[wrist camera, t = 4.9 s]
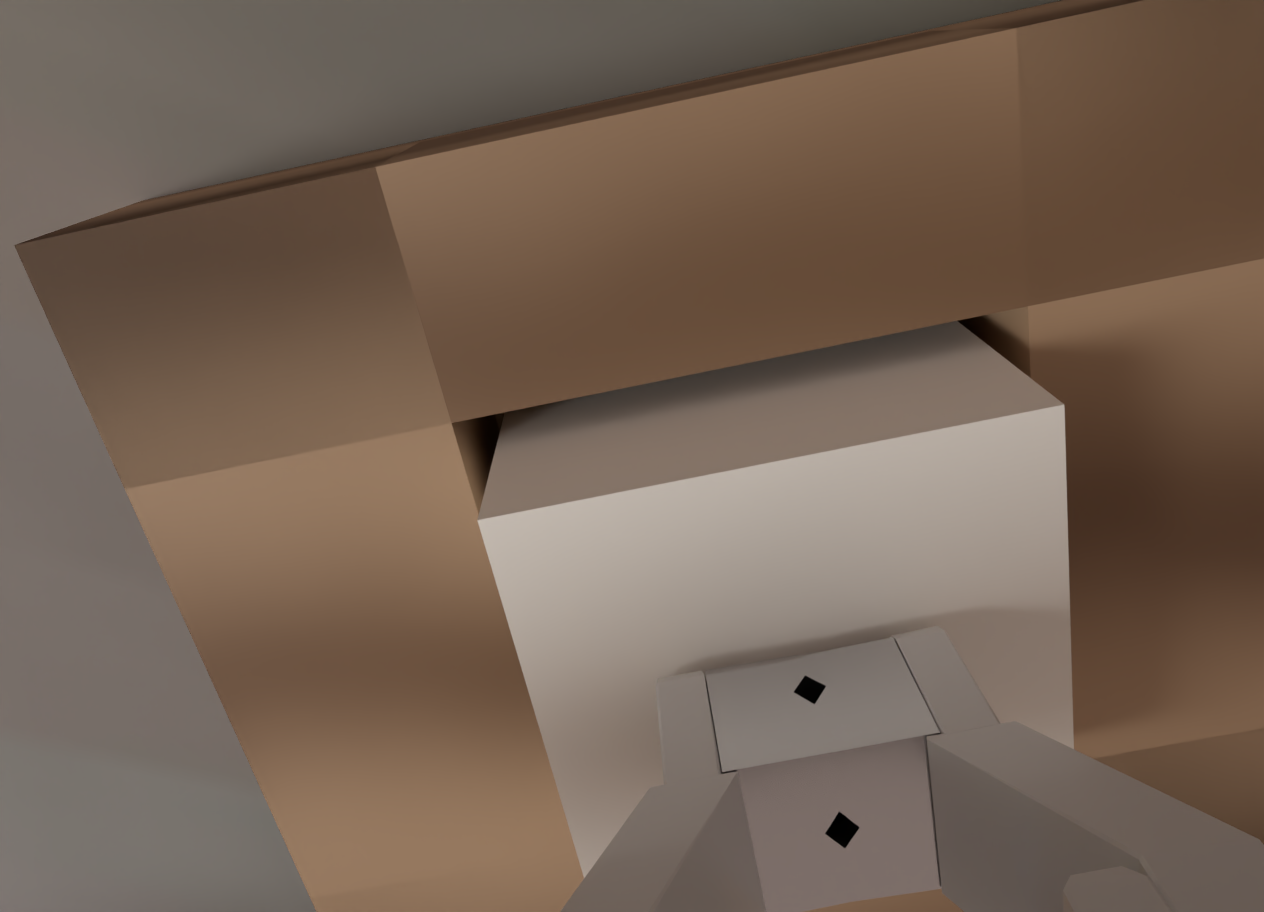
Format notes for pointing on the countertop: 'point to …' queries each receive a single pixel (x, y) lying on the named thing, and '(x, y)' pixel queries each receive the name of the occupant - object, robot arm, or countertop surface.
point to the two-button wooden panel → (673, 347)
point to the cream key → (777, 540)
